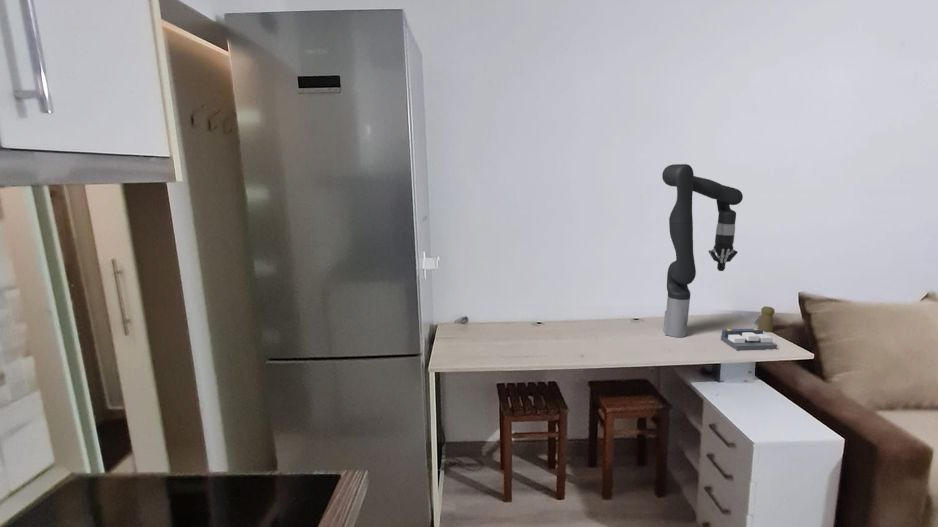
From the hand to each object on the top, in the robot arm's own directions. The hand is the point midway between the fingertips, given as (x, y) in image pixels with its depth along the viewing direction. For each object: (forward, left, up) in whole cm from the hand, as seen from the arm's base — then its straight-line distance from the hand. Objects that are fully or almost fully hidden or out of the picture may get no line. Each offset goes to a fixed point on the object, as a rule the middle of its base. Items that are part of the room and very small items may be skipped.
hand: (720, 270), depth 228 cm
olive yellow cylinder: (+22, 0, -27) cm, 35 cm away
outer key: (+14, -21, -25) cm, 35 cm away
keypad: (+8, -21, -27) cm, 35 cm away
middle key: (+8, -22, -24) cm, 34 cm away
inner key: (+2, -24, -25) cm, 34 cm away
